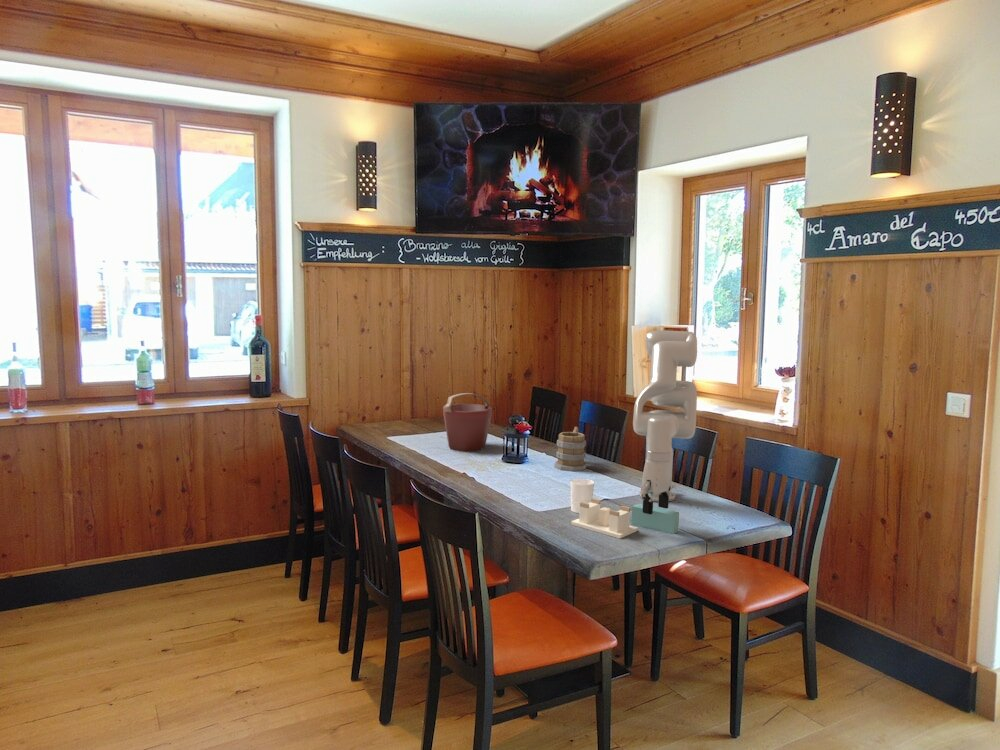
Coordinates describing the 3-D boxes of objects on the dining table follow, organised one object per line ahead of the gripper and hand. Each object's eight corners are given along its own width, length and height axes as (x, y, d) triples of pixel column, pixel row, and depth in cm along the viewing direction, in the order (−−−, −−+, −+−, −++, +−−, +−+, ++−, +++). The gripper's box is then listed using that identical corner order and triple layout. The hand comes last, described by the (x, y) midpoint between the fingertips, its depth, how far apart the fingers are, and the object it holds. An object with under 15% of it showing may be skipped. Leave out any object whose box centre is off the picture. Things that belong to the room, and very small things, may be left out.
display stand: (589, 517, 236) (590, 495, 235) (637, 530, 224) (638, 508, 223) (571, 524, 228) (571, 502, 228) (620, 538, 217) (621, 515, 216)
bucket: (447, 454, 319) (448, 398, 316) (432, 443, 339) (433, 390, 336) (499, 450, 328) (500, 396, 325) (481, 440, 348) (482, 389, 345)
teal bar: (636, 521, 234) (637, 503, 233) (678, 530, 226) (679, 512, 225) (631, 524, 231) (632, 506, 230) (673, 534, 222) (674, 515, 222)
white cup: (591, 507, 247) (592, 478, 246) (594, 514, 239) (596, 485, 238) (567, 507, 247) (569, 478, 245) (570, 514, 239) (572, 484, 238)
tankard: (582, 472, 294) (583, 436, 292) (551, 469, 297) (553, 433, 296) (591, 461, 312) (593, 427, 311) (563, 458, 316) (564, 424, 314)
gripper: (661, 451, 234) (658, 503, 236) (633, 458, 221) (630, 513, 223) (682, 454, 229) (679, 507, 231) (655, 462, 216) (652, 518, 218)
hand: (655, 510), depth 227 cm, fingers open, 9 cm apart
